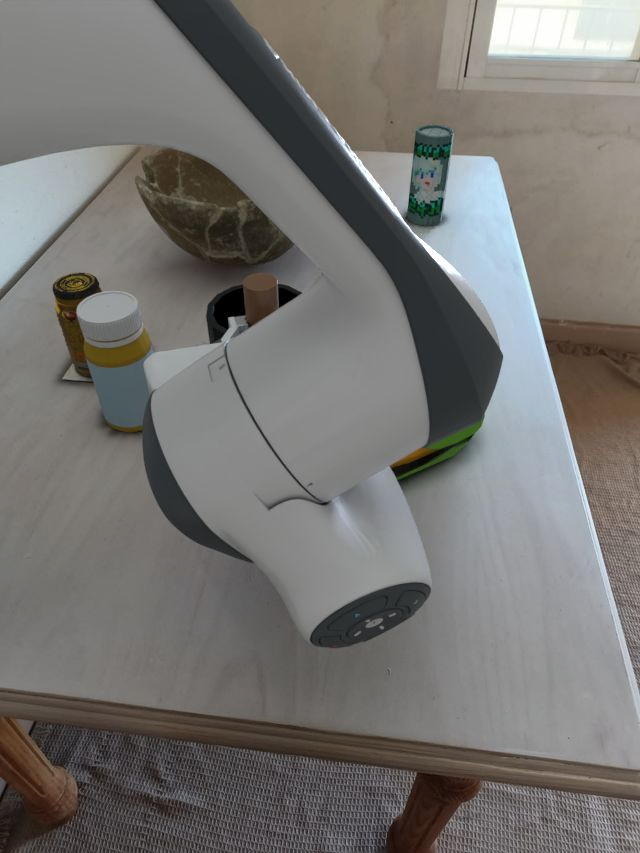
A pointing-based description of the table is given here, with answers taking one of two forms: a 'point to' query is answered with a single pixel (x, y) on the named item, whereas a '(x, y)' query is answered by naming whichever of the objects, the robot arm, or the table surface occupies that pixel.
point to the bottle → (116, 356)
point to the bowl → (207, 211)
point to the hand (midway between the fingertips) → (260, 319)
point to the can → (429, 174)
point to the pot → (236, 308)
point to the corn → (459, 437)
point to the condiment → (74, 318)
